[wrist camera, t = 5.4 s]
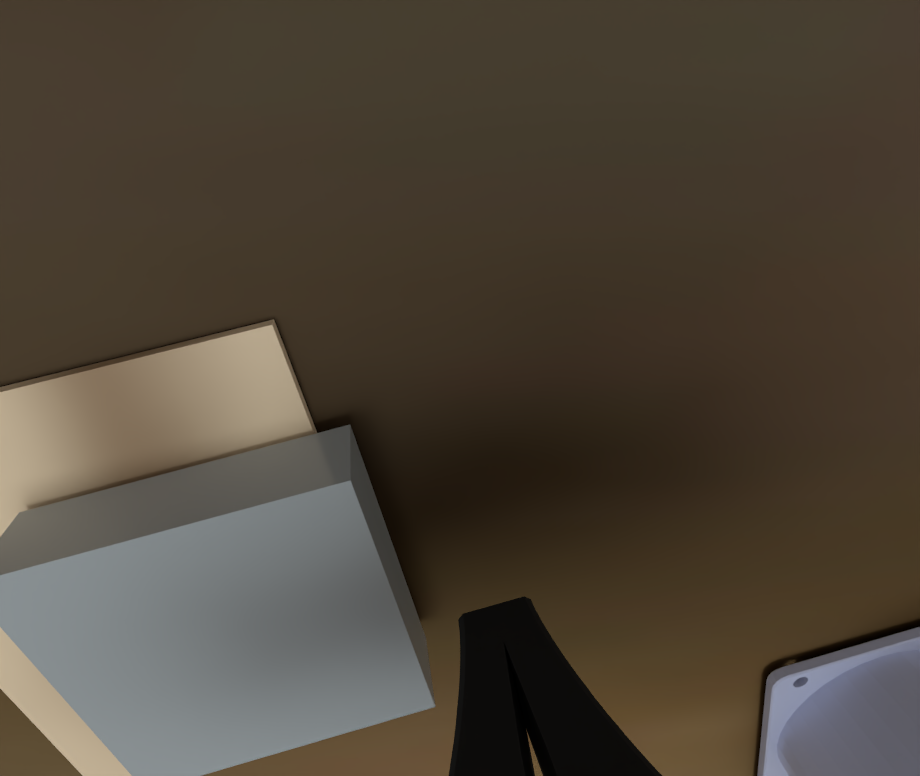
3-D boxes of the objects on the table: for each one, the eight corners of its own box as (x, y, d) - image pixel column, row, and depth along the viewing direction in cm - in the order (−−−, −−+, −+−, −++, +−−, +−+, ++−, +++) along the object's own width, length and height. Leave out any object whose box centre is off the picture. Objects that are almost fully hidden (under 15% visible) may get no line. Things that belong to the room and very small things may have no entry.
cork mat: (273, 319, 12) (272, 325, 11) (413, 686, 17) (414, 695, 17) (-213, 440, 11) (-227, 448, 11) (98, 776, 17) (94, 787, 17)
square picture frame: (350, 480, 11) (-37, 585, 10) (435, 706, 14) (145, 791, 14) (350, 419, 13) (23, 505, 12) (424, 630, 16) (171, 703, 16)
